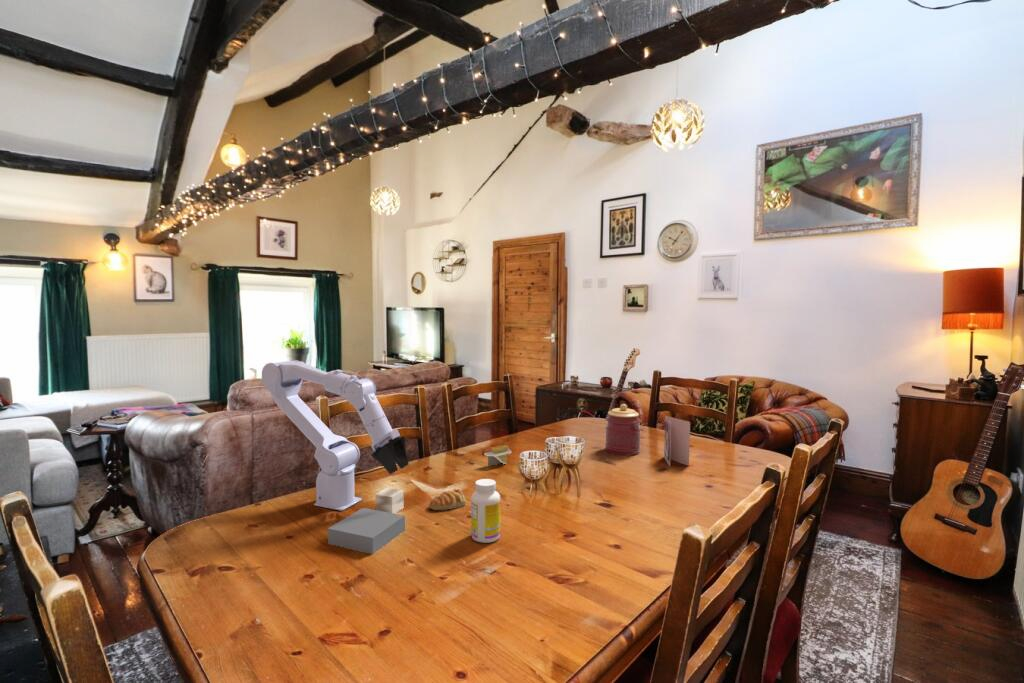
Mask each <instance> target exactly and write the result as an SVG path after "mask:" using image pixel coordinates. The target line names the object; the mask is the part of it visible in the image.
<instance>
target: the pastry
mask: <svg viewBox="0 0 1024 683" xmlns="http://www.w3.org/2000/svg"><path fill="white" fill-rule="evenodd" d="M466 501H467V500H466V497H465V496H464V493H463V491H462V490H461V489H459V488H454V489H453V490H448V491H443V492H442V493H441V494H440V495H437V496H435V497H434V498H433V499H431V500H430V501H429V505H428V506H429V509H431V510H434V511H436V510H441V511H449V510H448V509H451V510H453V508H454V509H458V508H461V507H460V506H462V507H464V506H465V505H466V503H467V502H466ZM457 507H458V508H457Z"/></svg>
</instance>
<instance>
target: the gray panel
mask: <svg viewBox="0 0 1024 683" xmlns="http://www.w3.org/2000/svg"><path fill="white" fill-rule="evenodd" d="M405 531H406V515H403V514H399V513H396V514H394V513H388V512H383V511H378V510H376V509H371V508H366V507H362V508H360V509H359V510H357V511H355V512H354V513H352V514H351V515H348V516H347V517H345V518H343V519H342V520H340V521H338V522H336V523H334V524H333V525H331V526H329V527H327V545H329V544H331V545H330V546H334V545H336V546H335V547H338V546H340V547H339V548H343V547H344V549H348V550H351V549H352V551H356V550H357V552H360V551H362V552H361V553H365V552H367V553H366V554H369V553H371V554H370V555H374V554H375V552H376V551H377V552H378V551H380V550H382V548H384V547H386V545H388V544H389V543H390V542H392V541H393V540H394V539H396V538H397V537H399V536H400V535H401V534H403V533H404V532H405ZM402 532H403V533H402ZM400 533H401V534H400ZM399 534H400V535H399ZM395 537H396V538H395ZM392 539H393V540H392ZM391 540H392V541H391ZM388 542H389V543H388ZM387 543H388V544H387ZM383 546H384V547H383ZM379 549H380V550H379ZM377 552H376V553H377Z"/></svg>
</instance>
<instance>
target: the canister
mask: <svg viewBox="0 0 1024 683" xmlns="http://www.w3.org/2000/svg"><path fill="white" fill-rule="evenodd" d="M607 414H608V416H607V417H606V418H605V421H606V426H605V427H604V428H605V443H604V447H605V451H606V452H608V453H611V454H614V455H619V456H635V455H638V454H639V453H640V451H641V448H642V447H641V431H642V429H641V426H640V424H641V422H642V420H641V418H639V416H640V414H639V412H637V411H636V410H635V409H632V408H628V405H627V404H625V403H621V404H620V406H619V407H615V408H612V409H611V410H609V411H608V412H607Z"/></svg>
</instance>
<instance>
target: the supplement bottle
mask: <svg viewBox="0 0 1024 683" xmlns="http://www.w3.org/2000/svg"><path fill="white" fill-rule="evenodd" d="M474 485H475V487H474V488H475V491H474V492H473V493H472V494H471V496H470V505H471V506H470V509H471V510H470V511H471V512H470V516H471V517H470V519H471V521H470V524H471V526H470V527H471V528H470V529H471V530H470V531H471V538H472V539H473V540H474V541H475V542H478V543H483V544H487V543H488V544H489V543H493V542H496V541H497V540H499V538H500V536H501V495H500V493H499V492H498V491H496V489H497V488H496V487H497V482H496V480H494V479H492V478H481V479H480V478H479V479H478V480H476V481H475V484H474Z"/></svg>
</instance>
